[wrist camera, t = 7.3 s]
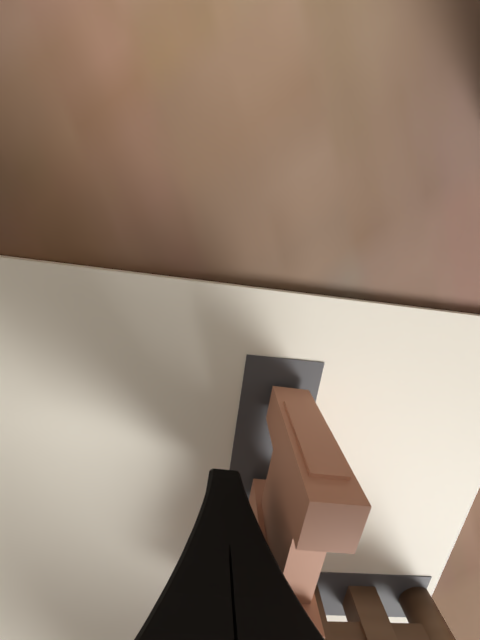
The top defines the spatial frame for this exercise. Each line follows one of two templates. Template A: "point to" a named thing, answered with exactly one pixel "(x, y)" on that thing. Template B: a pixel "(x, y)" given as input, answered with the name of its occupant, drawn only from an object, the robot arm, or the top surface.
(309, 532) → the folding fence panel
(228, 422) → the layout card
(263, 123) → the top surface
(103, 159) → the top surface
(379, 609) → the fixed fence section
